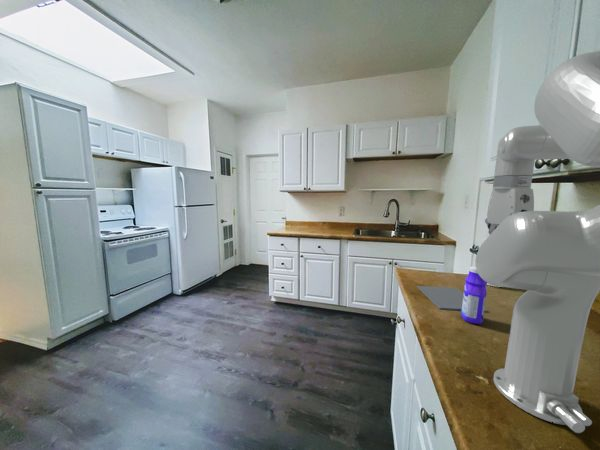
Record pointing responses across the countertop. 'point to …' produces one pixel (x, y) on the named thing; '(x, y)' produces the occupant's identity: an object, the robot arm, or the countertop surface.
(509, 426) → the countertop surface
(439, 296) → the mat
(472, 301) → the bottle
